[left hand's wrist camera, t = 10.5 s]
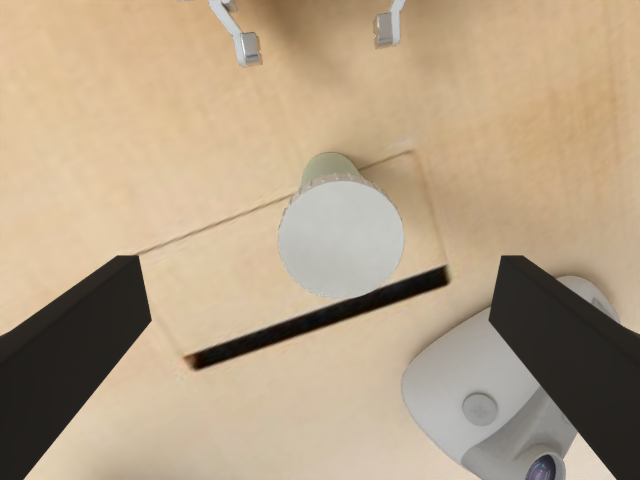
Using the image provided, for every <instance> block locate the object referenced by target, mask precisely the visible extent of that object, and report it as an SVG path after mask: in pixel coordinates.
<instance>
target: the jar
mask: <svg viewBox="0 0 640 480" xmlns="http://www.w3.org/2000/svg"><path fill="white" fill-rule="evenodd" d="M335 173H337V174H348V173H350V174H351V175H355V176H358V177H361V175H360V173H359V172H358V170H357V169H356V168H355V166H354V165H353V163H352V162H351V161H350V160H349V159H348V158H347V157H345V156H343V155H341V154H338V153H334V152H328V153H323V154H320V155H318V156H316V157H314V158H313V159H312V160H311V161H310V162H309V163H308V165H307V166H306V168H305V170H304V173H303V177H302V181H301V185H300V188H302V187H303V186H305V185H306V184H308V183H309V181H310V180H311V181H313V180H315V179H317V178H320V177H321V175H324V176H326V175H331V174H335Z"/></svg>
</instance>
